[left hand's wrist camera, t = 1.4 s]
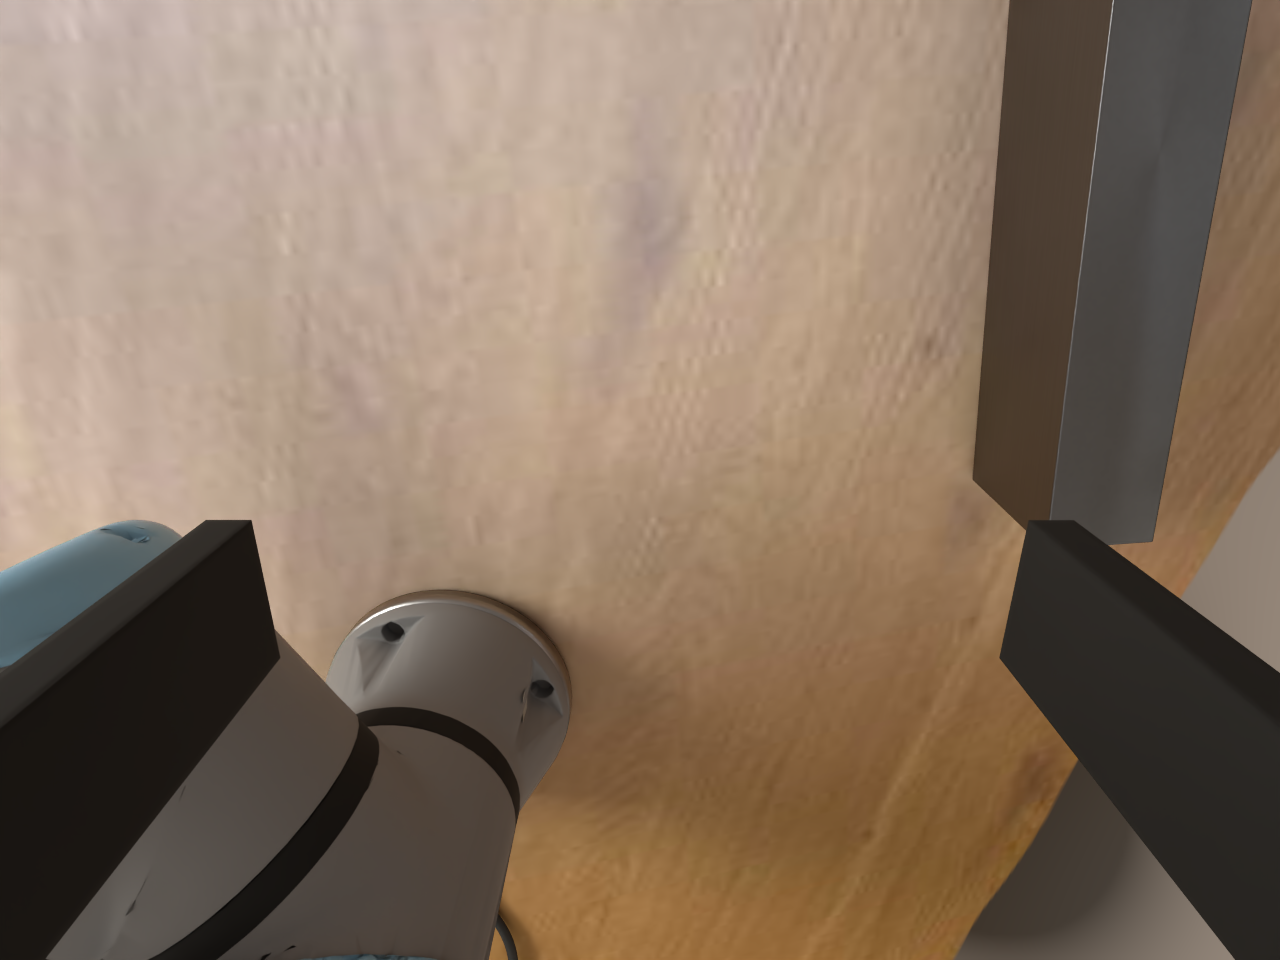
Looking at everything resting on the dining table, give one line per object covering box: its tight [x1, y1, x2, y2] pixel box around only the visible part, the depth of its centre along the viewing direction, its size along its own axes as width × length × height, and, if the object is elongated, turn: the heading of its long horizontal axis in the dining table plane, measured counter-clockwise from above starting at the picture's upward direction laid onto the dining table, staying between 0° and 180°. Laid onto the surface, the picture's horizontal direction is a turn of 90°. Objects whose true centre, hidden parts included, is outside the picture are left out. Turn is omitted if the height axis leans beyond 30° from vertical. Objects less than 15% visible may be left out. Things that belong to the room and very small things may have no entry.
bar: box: [973, 0, 1252, 545], centre depth 31 cm, size 33×5×8 cm, turn 6°
